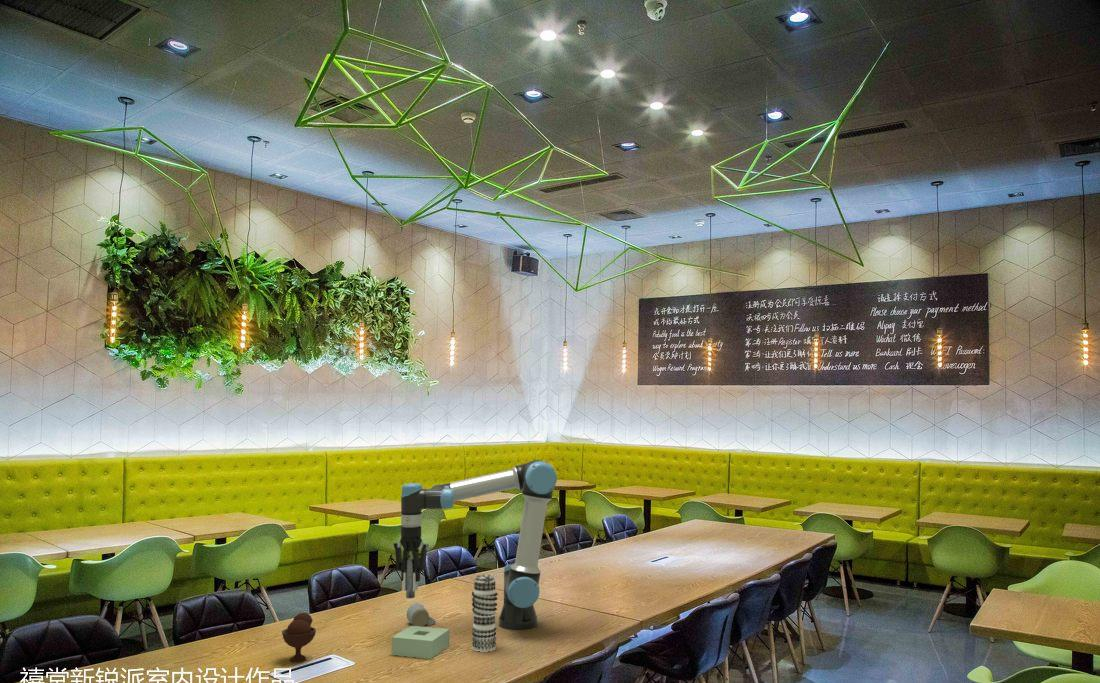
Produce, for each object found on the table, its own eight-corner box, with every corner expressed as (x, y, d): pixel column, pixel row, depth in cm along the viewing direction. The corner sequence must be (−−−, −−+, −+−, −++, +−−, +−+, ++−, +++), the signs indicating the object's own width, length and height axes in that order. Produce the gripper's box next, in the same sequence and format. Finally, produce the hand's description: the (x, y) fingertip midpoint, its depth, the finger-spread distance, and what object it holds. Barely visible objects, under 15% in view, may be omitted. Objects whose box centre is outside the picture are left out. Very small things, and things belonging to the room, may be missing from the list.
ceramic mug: (411, 629, 295) (412, 608, 296) (405, 624, 303) (406, 603, 303) (438, 626, 300) (439, 606, 301) (432, 621, 307) (432, 601, 308)
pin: (416, 596, 287) (416, 558, 288) (412, 598, 284) (412, 559, 285) (408, 596, 288) (408, 557, 289) (404, 598, 285) (405, 559, 286)
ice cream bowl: (284, 655, 263) (286, 609, 264) (318, 654, 264) (319, 609, 265) (276, 665, 253) (278, 618, 254) (311, 664, 253) (313, 617, 255)
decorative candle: (486, 654, 266) (487, 579, 268) (465, 649, 271) (466, 576, 273) (502, 647, 274) (503, 575, 276) (481, 643, 279) (482, 572, 281)
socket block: (449, 646, 274) (449, 629, 275) (431, 659, 260) (432, 641, 260) (410, 642, 278) (411, 625, 279) (391, 655, 264) (391, 637, 264)
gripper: (386, 526, 287) (385, 591, 285) (427, 527, 282) (426, 593, 280) (396, 523, 294) (395, 586, 292) (435, 525, 290) (435, 589, 287)
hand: (410, 590), depth 286 cm, fingers closed on pin, 3 cm apart
